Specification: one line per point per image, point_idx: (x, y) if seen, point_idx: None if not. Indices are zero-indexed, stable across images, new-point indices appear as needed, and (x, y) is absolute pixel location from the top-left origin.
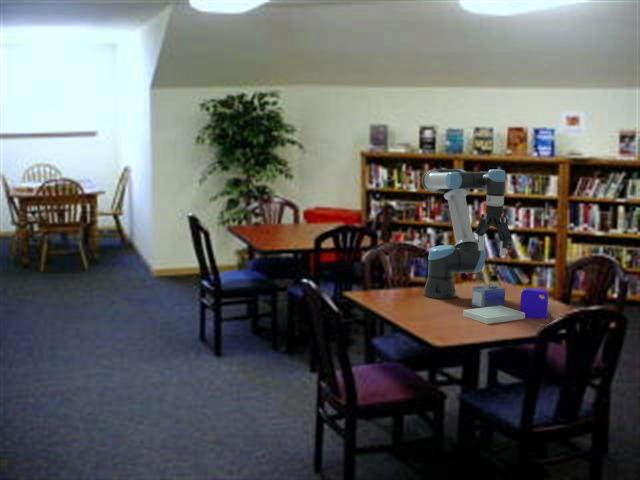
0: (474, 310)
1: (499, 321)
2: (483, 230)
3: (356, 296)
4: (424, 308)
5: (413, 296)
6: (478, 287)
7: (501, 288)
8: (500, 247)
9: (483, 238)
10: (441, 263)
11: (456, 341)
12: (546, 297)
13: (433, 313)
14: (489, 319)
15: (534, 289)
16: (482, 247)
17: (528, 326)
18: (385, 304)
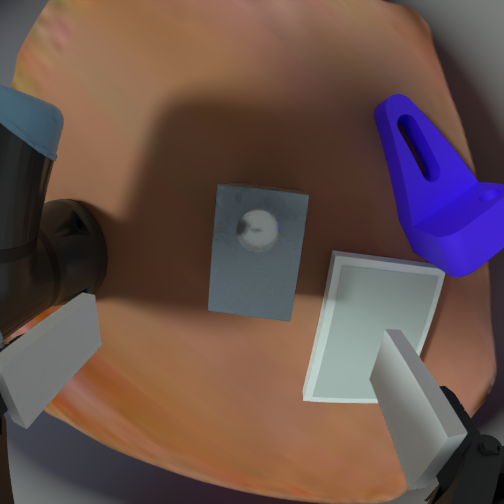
0: (329, 382)
1: None
2: (8, 487)
3: None
4: (180, 402)
5: None
6: (231, 299)
7: (305, 221)
8: (393, 431)
9: (25, 370)
10: (17, 324)
11: (406, 482)
12: None
13: (236, 421)
14: None
15: (487, 228)
16: (83, 327)
17: (475, 321)
18: (116, 425)
